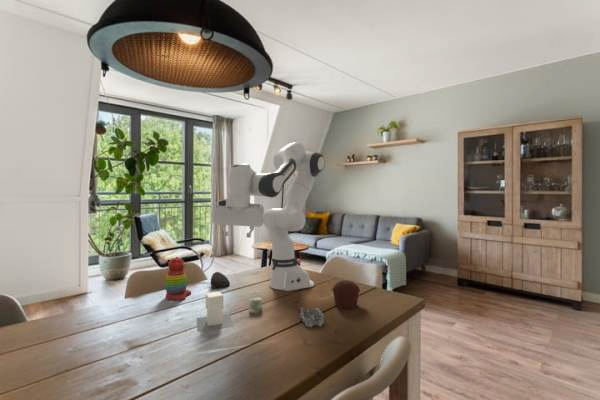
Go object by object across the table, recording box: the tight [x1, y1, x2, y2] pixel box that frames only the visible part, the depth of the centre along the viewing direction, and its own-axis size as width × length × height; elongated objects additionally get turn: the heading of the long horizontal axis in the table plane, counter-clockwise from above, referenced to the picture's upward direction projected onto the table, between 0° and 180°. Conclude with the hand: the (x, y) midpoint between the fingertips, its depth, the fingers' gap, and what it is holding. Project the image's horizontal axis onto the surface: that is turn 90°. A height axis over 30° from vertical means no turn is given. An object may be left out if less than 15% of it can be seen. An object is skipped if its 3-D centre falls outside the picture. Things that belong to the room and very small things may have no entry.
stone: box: [210, 271, 231, 288], centre depth 158 cm, size 10×8×10 cm
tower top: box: [205, 291, 224, 312], centre depth 113 cm, size 5×5×5 cm
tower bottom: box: [206, 309, 223, 326], centre depth 113 cm, size 5×5×5 cm
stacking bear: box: [164, 256, 192, 302], centre depth 142 cm, size 11×10×18 cm
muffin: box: [331, 279, 361, 310], centre depth 131 cm, size 12×11×10 cm
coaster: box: [196, 313, 234, 333], centre depth 113 cm, size 12×12×1 cm
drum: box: [248, 297, 263, 314], centre depth 124 cm, size 5×5×5 cm
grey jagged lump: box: [299, 306, 325, 328], centre depth 116 cm, size 11×8×4 cm
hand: (237, 236), depth 129 cm, fingers open, 8 cm apart
